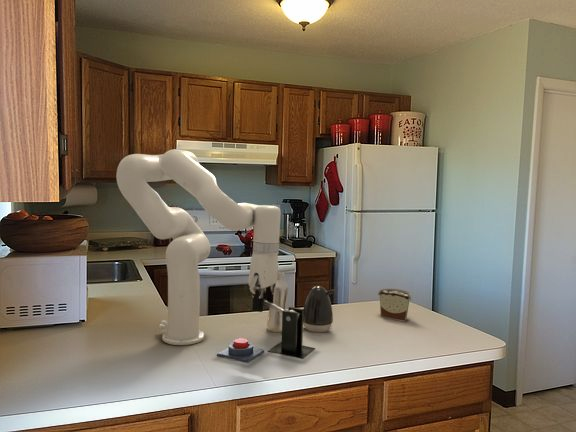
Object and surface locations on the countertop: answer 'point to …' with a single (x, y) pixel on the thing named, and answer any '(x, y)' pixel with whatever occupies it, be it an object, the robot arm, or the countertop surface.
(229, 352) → the button box
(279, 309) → the lever
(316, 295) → the dark grey tapered dome
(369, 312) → the countertop surface
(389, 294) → the food container
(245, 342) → the button
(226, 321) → the countertop surface
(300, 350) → the bracket
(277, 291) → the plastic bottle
